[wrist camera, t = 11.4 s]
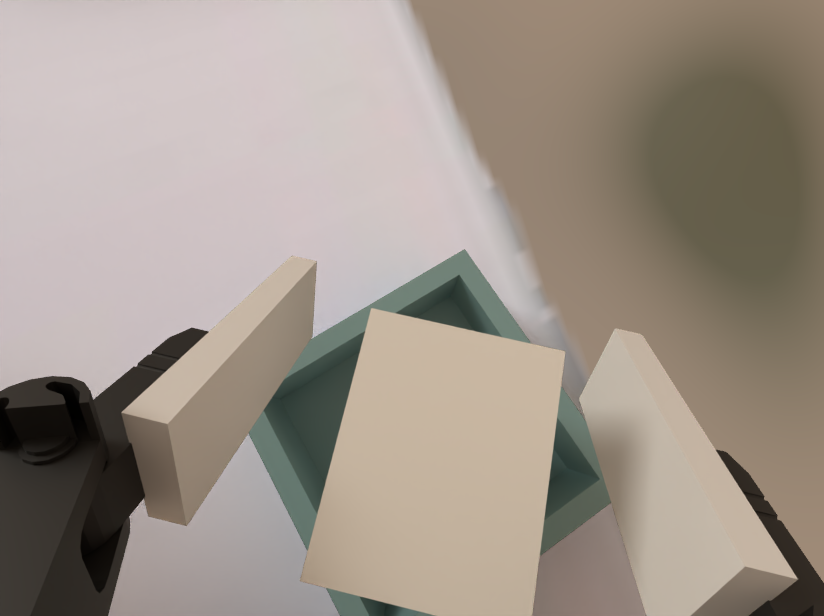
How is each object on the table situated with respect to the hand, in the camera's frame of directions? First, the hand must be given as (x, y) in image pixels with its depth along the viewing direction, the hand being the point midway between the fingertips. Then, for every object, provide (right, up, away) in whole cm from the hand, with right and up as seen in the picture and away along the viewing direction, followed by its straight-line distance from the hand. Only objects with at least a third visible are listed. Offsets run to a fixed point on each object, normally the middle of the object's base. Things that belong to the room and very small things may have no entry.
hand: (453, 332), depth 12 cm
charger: (-1, -5, +5) cm, 7 cm away
